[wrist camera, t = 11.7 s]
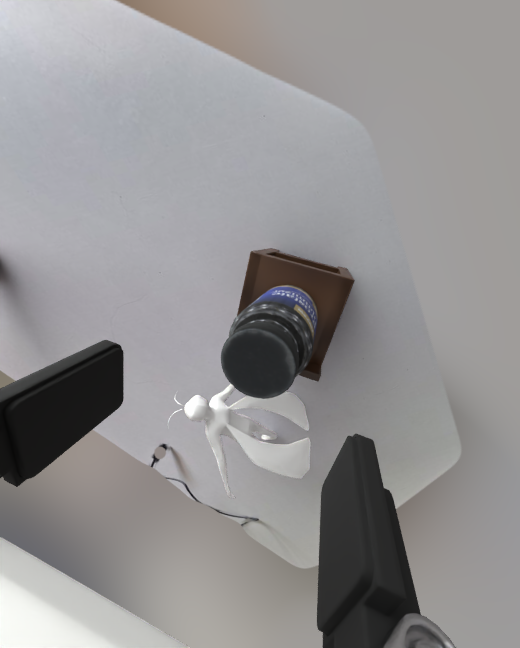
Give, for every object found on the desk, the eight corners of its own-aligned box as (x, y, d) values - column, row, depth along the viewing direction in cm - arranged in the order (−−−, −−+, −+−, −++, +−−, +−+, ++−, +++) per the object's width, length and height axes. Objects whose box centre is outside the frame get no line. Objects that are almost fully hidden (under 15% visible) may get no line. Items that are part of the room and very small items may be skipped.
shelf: (270, 248, 31) (244, 252, 21) (347, 268, 30) (357, 283, 20) (254, 317, 35) (224, 349, 25) (321, 339, 34) (318, 382, 24)
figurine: (324, 503, 32) (247, 491, 19) (253, 502, 36) (149, 491, 23) (312, 390, 42) (256, 328, 28) (257, 400, 46) (185, 349, 33)
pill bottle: (330, 304, 23) (332, 355, 13) (297, 352, 25) (277, 427, 15) (274, 271, 23) (233, 296, 13) (247, 322, 26) (195, 375, 16)
